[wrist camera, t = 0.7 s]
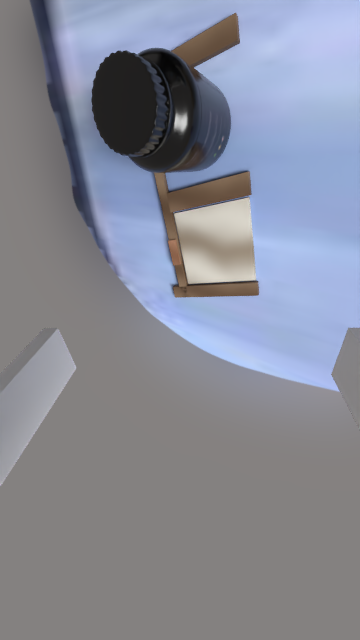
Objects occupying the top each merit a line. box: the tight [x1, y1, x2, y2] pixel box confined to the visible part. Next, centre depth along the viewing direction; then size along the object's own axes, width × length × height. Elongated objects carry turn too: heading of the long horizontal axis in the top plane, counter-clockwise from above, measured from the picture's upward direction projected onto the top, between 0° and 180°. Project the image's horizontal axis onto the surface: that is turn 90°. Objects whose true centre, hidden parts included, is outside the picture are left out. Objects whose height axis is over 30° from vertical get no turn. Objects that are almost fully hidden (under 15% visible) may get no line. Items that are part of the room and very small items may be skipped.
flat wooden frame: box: [154, 13, 259, 297], centre depth 26 cm, size 23×11×1 cm, turn 13°
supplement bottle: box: [92, 48, 231, 173], centre depth 19 cm, size 7×7×12 cm
